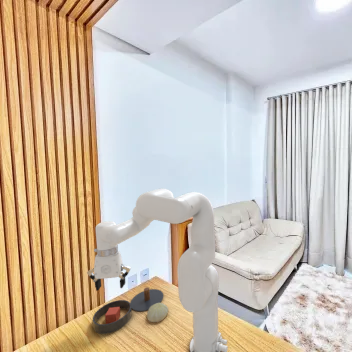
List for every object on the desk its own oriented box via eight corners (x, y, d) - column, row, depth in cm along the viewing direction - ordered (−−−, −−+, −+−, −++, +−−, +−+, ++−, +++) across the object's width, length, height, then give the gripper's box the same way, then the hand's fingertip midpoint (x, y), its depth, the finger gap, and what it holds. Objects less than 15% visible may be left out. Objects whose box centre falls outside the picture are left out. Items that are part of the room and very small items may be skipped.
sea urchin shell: (163, 301, 101) (166, 296, 96) (168, 318, 98) (172, 314, 93) (143, 310, 96) (146, 305, 91) (148, 328, 92) (151, 325, 87)
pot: (138, 313, 96) (138, 304, 96) (110, 339, 83) (109, 329, 82) (116, 305, 101) (115, 297, 101) (85, 329, 88) (84, 319, 87)
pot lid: (169, 294, 109) (169, 283, 108) (147, 316, 94) (146, 303, 94) (147, 288, 114) (146, 277, 113) (123, 307, 100) (122, 295, 99)
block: (120, 315, 95) (119, 306, 94) (116, 323, 90) (115, 313, 90) (110, 316, 94) (109, 307, 93) (105, 324, 90) (104, 315, 89)
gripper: (80, 256, 84) (84, 295, 86) (126, 253, 86) (128, 290, 88) (90, 248, 91) (93, 284, 93) (132, 245, 94) (134, 280, 96)
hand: (110, 287), depth 91 cm, fingers open, 9 cm apart
